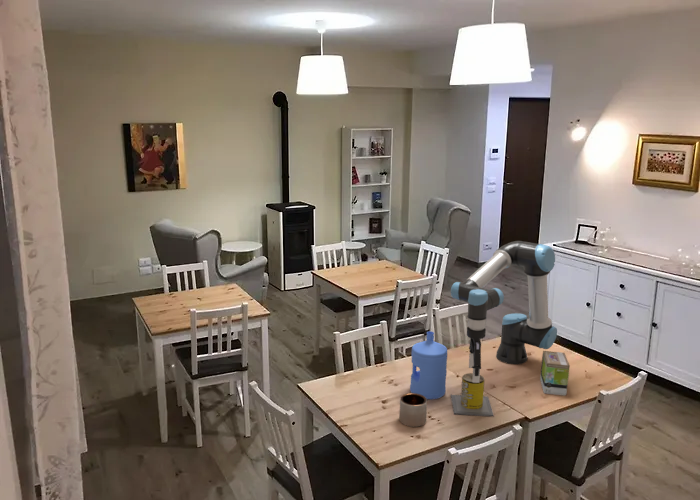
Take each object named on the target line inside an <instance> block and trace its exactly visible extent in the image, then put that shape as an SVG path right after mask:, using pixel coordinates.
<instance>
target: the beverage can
mask: <svg viewBox="0 0 700 500" xmlns="http://www.w3.org/2000/svg"><path fill="white" fill-rule="evenodd" d="M461 379H462V382H461V394H460V395H461V405H462V406H463V407H465V408H468V409H479V408H481V407H482V406H483V396H484V390H485V388H484V387H485V377H484V376H483V375H481V374H480V380H479V383H473V382H472V380H473V372H471V373H470V372H469V373H465V374H464V373H463V375H462V378H461Z"/></svg>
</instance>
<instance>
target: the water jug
mask: <svg viewBox="0 0 700 500" xmlns="http://www.w3.org/2000/svg"><path fill="white" fill-rule="evenodd" d="M434 335H435V332H434V331H427V332H426V340H424V341H420V342H417V343H415V344H413V345H412V347H411V364H412V367H411V368H412V370H411V372H412V373H411V375H410V385H409V387H410V388H409V390H410V391H409V392H410V393H416V394H420V395H423V396H424V397H426V399H427V400H437V399H440V398H442V397H443V396H445V394H446V388H447V387H446V384H447V383H446V381H447V363H448V348H447V347H446V346H445V345H444V344H443V343H439V342H437V341H435V336H434ZM417 368H418V369H419V370H417Z"/></svg>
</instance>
